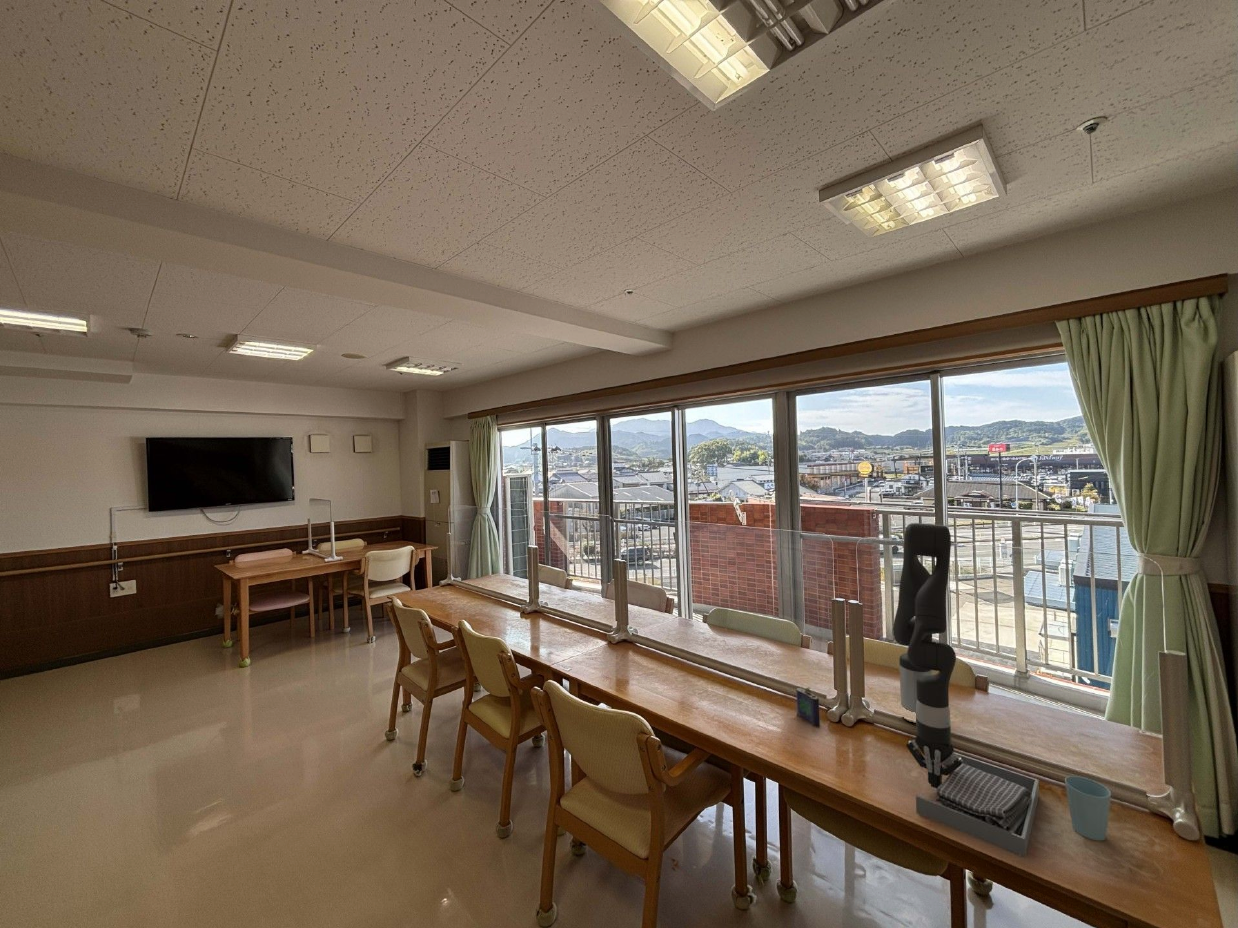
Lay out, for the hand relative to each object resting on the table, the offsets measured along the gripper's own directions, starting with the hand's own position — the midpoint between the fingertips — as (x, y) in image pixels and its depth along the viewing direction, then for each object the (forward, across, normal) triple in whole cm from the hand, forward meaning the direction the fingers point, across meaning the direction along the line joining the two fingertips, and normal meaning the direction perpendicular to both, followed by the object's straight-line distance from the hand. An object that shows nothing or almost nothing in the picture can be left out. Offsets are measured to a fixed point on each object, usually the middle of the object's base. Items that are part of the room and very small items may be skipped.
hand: (935, 786), depth 128 cm
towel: (+2, -10, +2) cm, 11 cm away
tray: (+1, -9, -2) cm, 9 cm away
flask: (+2, +39, -13) cm, 41 cm away
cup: (+2, -29, -7) cm, 30 cm away
